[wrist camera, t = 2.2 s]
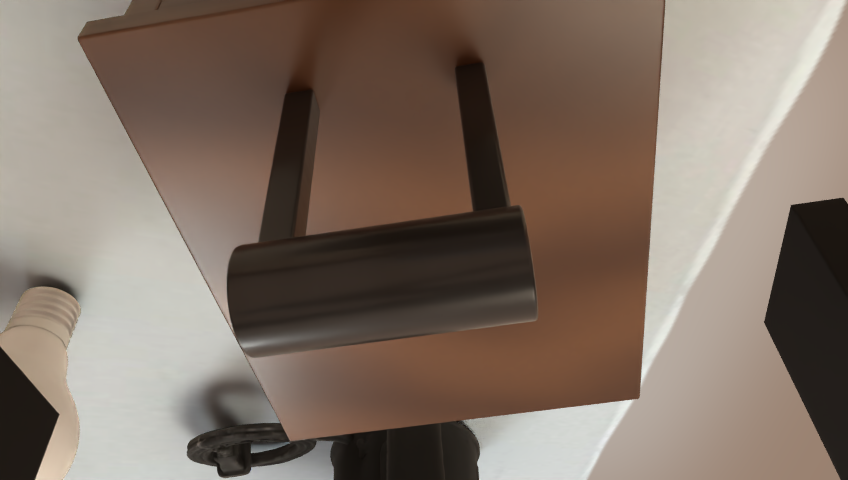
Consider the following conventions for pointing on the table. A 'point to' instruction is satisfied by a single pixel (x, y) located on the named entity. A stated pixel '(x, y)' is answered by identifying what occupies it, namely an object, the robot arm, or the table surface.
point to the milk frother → (349, 451)
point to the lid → (406, 194)
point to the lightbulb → (47, 366)
